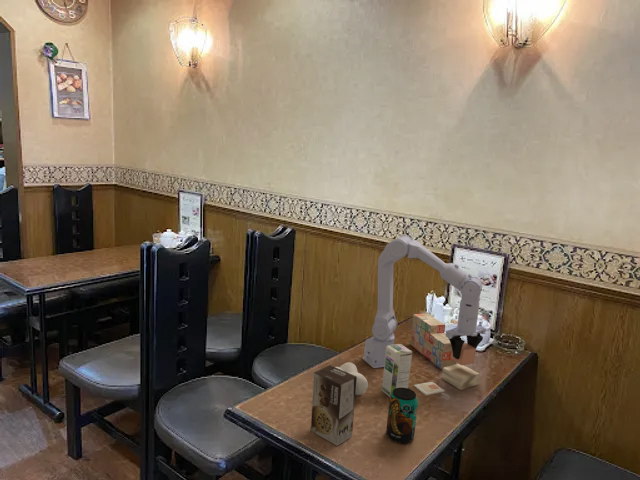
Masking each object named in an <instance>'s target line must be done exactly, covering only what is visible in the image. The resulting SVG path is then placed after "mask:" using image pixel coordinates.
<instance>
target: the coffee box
mask: <svg viewBox="0 0 640 480" xmlns="http://www.w3.org/2000/svg"><path fill="white" fill-rule="evenodd" d="M335 367H336V366H334V365H331V364H329V365H327V366H324V367H322V368H321V369H319V370H316V371H315V372H313V384H312V400H311V402H312V403H311V404H312V406H311V422H310V432H312V433H314V434H315V433H316V435H317V436H319V437H321V438H322V439H325V440H326V441H327V442H330V443H331V444H333V445H335V446H336V447H338V446H339V445H341V444H342V443H344V442H346V441H347V440H349V439H351V438H352V437H353V428H354V415H355V407H356V405H355V404H356V395H355V393H356V380H357V377H356V376H354V375H352V374H349V373H347V372H345V371H342V370H340V369H338V368H335Z"/></svg>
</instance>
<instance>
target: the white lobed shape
mask: <svg viewBox="0 0 640 480" xmlns="http://www.w3.org/2000/svg"><path fill="white" fill-rule="evenodd" d="M334 367H335V368H338V369H340V370H342V371H345V372H347V373H349V374H352V375H354V376H356V377H357V380H356V393H355V396H362V395H363V394H365V393H366V391H367V390H368V388H369V383H368V380H367V378H366V377H365V376H364V375H363V374H362V373H360V372H358V368H357V366H356V364H354V362H345V363H342V365H340V366H334Z"/></svg>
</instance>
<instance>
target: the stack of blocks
mask: <svg viewBox="0 0 640 480" xmlns="http://www.w3.org/2000/svg"><path fill="white" fill-rule="evenodd" d="M411 325H412V326H411V337H410V345H411V346H412V347H413V348H414V349H416V350H417V352H420V354H421V355H423V356H424V357H426V358H427V359H428V360H430V362H431V363H433V364H434V366H436V367H437V368H439V369H440V370H443V368H444V367H448V366H452V365H456V364H457V362H455V361H454V360H452V359H451V355H452V346H451V343H450V340H449V338H447V337H446V330H445V329H446V323H443V322H442V321H440V320H439V319H437V318H436V317H434V316H433V315H431V314H430V313H426V312H425V313H414V314H412V324H411Z"/></svg>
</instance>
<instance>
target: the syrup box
mask: <svg viewBox="0 0 640 480" xmlns="http://www.w3.org/2000/svg"><path fill="white" fill-rule="evenodd" d="M412 357H413V350H410V348H407V347H406V346H405V345H403V344H402V343H401V344H399V343H397V344H395V343H394V345H389V346H387V347H386V355H385V365H384V367H383V375H382V383H381V384H382V386H381V392H383V393H384V394H385V395H387V396H388V397H389V398H390V396H391V394H392V393H393V390H394V389H396V388H408V389H409V383H410V376H411V366H412Z"/></svg>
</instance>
